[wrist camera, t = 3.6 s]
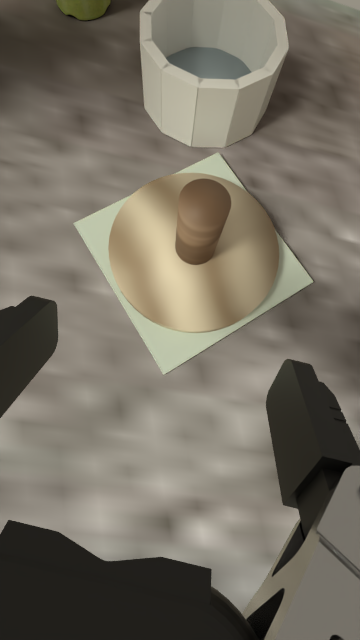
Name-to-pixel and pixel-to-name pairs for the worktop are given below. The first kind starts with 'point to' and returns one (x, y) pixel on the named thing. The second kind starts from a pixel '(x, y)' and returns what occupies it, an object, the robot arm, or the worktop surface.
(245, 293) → the lid
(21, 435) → the worktop surface
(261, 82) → the bowl
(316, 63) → the worktop surface
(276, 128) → the worktop surface
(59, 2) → the plant pot
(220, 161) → the mat
